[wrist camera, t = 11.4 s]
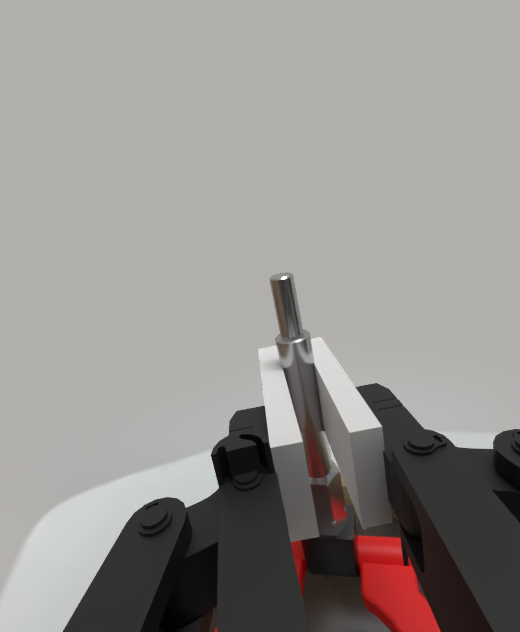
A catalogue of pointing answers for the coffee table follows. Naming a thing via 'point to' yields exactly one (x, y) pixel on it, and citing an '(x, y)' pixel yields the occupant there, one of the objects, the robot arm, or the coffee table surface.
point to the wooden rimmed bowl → (341, 592)
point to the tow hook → (339, 494)
